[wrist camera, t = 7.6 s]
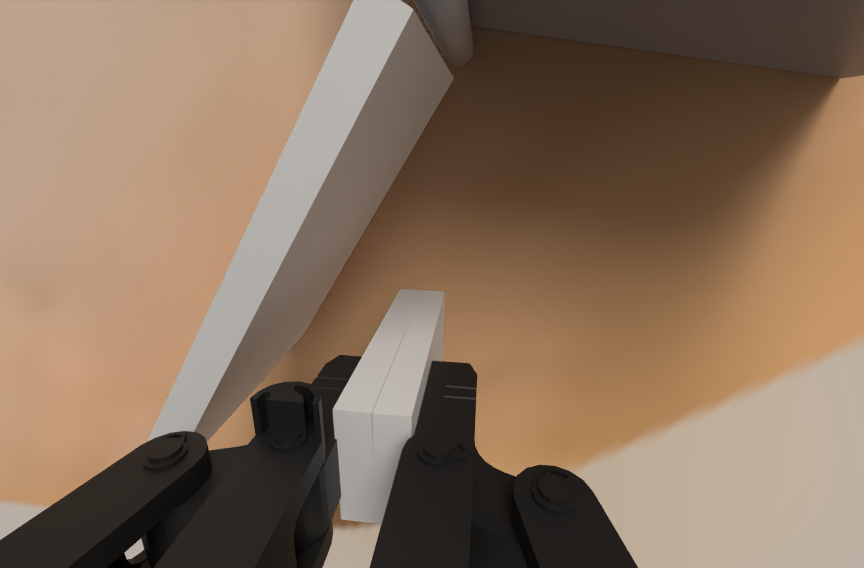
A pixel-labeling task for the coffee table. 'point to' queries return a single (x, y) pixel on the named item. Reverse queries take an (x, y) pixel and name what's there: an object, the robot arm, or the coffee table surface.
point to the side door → (319, 199)
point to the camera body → (700, 29)
